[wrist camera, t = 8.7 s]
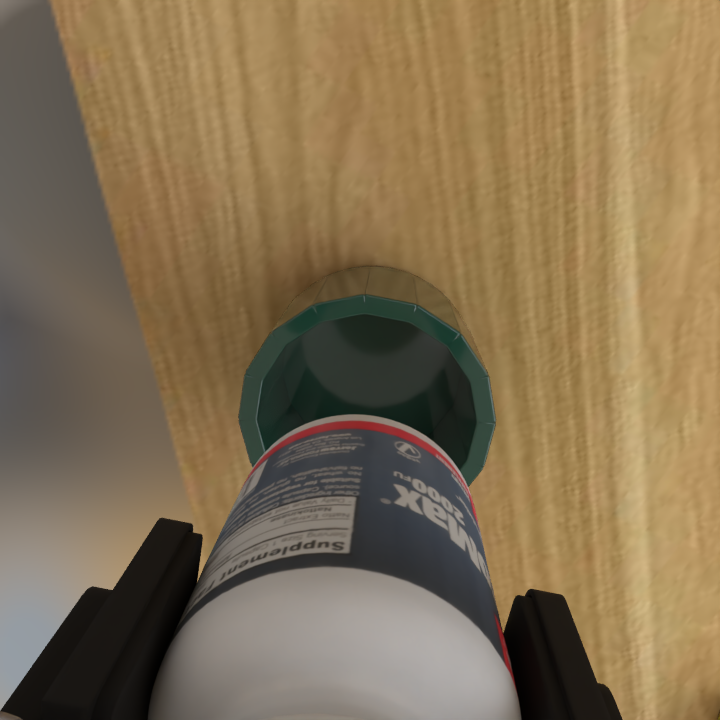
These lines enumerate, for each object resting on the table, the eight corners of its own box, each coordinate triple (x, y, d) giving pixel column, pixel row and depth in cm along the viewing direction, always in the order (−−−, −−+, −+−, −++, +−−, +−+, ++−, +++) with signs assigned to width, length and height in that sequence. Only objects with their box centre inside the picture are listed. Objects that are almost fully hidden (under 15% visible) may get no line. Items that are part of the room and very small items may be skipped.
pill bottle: (510, 568, 15) (660, 1098, 7) (308, 643, 16) (212, 1195, 7) (414, 368, 14) (449, 710, 5) (200, 462, 15) (-64, 884, 6)
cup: (258, 438, 27) (225, 507, 21) (288, 247, 24) (258, 273, 19) (448, 474, 27) (461, 553, 21) (495, 288, 24) (523, 325, 19)
